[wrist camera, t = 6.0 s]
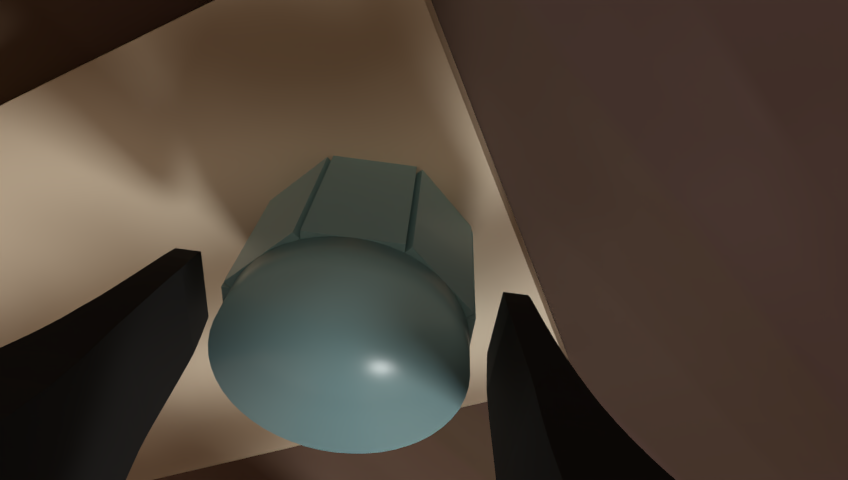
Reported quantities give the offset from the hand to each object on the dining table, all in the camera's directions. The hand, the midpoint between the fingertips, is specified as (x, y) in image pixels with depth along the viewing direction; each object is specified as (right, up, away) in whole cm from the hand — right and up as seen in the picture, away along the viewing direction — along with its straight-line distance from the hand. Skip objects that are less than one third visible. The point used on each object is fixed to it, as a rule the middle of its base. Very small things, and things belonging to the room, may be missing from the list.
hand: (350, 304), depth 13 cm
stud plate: (-4, +1, +4) cm, 6 cm away
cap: (0, +1, +2) cm, 2 cm away
